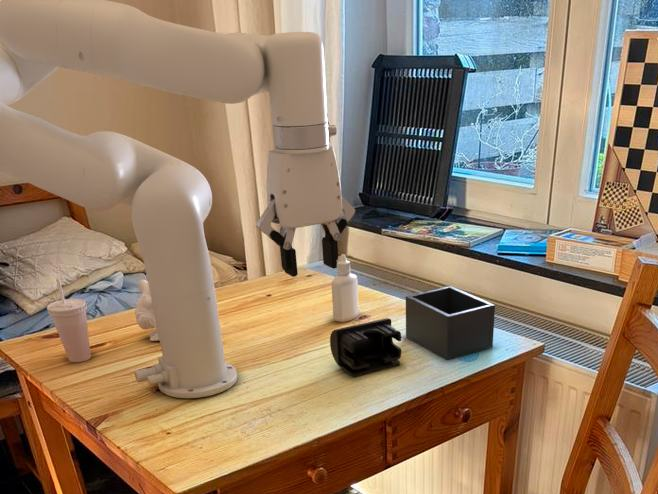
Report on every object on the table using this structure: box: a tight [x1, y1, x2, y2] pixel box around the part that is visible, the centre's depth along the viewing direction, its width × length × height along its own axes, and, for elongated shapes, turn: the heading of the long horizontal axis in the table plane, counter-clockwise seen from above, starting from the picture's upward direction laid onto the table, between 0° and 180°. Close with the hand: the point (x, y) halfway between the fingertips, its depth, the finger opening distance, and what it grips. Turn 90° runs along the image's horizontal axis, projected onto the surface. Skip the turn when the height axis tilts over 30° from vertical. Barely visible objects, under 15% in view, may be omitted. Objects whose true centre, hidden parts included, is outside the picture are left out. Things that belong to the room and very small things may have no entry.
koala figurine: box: [134, 279, 160, 342], centre depth 135 cm, size 8×7×12 cm
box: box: [405, 285, 496, 361], centre depth 129 cm, size 10×13×8 cm
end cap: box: [329, 317, 403, 378], centre depth 123 cm, size 10×7×7 cm
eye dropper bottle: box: [331, 253, 360, 323], centre depth 140 cm, size 4×6×12 cm
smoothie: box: [46, 277, 92, 363], centre depth 128 cm, size 6×6×14 cm
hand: (310, 269), depth 112 cm, fingers open, 5 cm apart
